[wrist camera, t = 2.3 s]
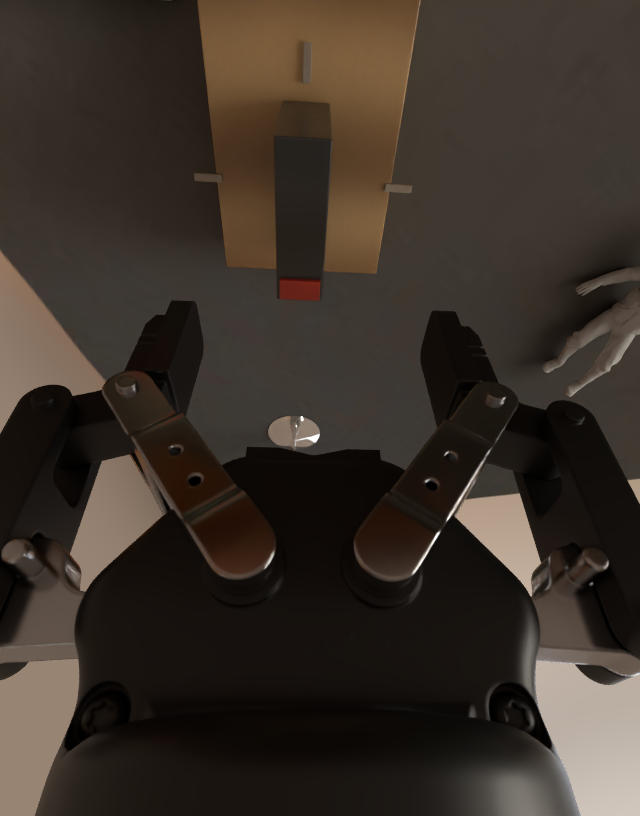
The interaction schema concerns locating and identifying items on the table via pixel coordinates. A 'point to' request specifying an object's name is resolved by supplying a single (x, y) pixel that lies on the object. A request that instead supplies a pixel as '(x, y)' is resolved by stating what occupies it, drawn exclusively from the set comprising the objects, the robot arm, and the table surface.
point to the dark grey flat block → (302, 197)
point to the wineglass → (293, 432)
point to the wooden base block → (306, 82)
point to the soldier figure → (604, 328)
